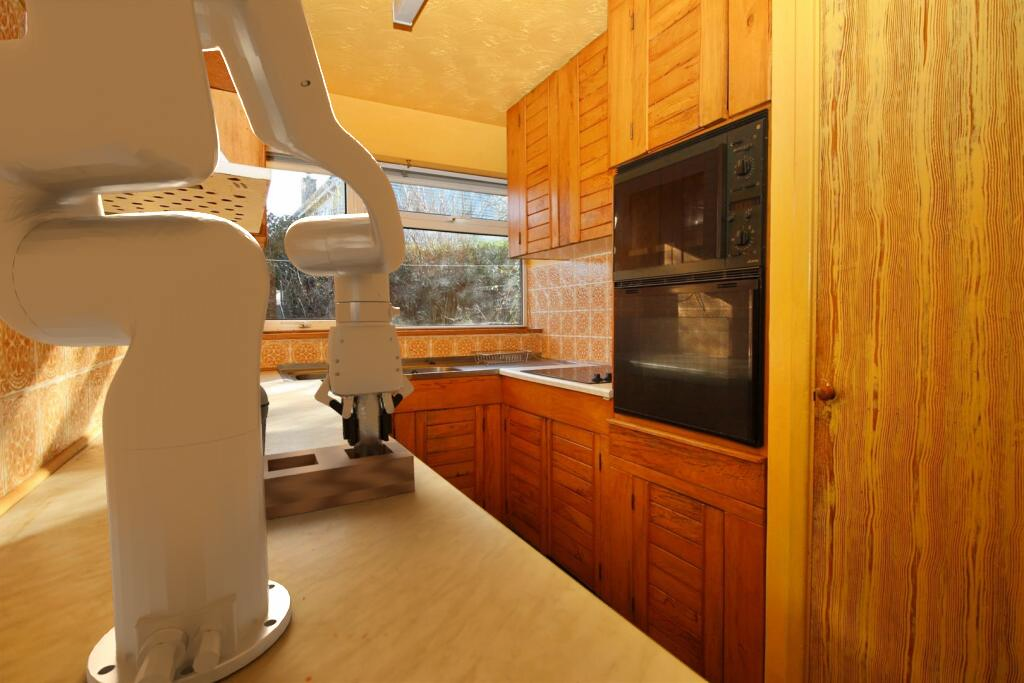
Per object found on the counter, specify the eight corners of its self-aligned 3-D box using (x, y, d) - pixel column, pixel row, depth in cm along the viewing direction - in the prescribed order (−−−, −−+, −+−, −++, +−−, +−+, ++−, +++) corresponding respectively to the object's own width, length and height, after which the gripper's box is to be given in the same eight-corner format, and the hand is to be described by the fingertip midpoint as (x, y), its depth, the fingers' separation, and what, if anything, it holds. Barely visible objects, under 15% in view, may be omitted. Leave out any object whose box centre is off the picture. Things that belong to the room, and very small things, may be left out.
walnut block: (393, 468, 76) (392, 437, 76) (414, 490, 65) (413, 455, 65) (253, 491, 67) (251, 457, 66) (251, 522, 56) (249, 481, 56)
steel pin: (386, 467, 68) (383, 384, 67) (357, 472, 66) (353, 387, 65) (379, 460, 71) (377, 381, 71) (352, 464, 69) (349, 384, 69)
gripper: (413, 315, 75) (416, 429, 75) (297, 317, 67) (303, 444, 68) (427, 314, 68) (431, 439, 69) (301, 316, 60) (307, 457, 61)
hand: (368, 440), depth 68 cm, fingers closed on steel pin, 4 cm apart
